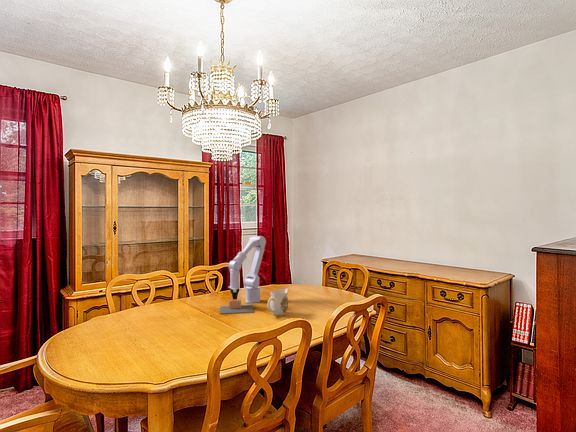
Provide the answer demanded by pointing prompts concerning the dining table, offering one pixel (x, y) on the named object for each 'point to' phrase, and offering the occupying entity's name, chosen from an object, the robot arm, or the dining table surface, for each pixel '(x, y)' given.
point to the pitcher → (278, 302)
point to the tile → (235, 304)
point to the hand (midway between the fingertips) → (234, 300)
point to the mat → (238, 310)
